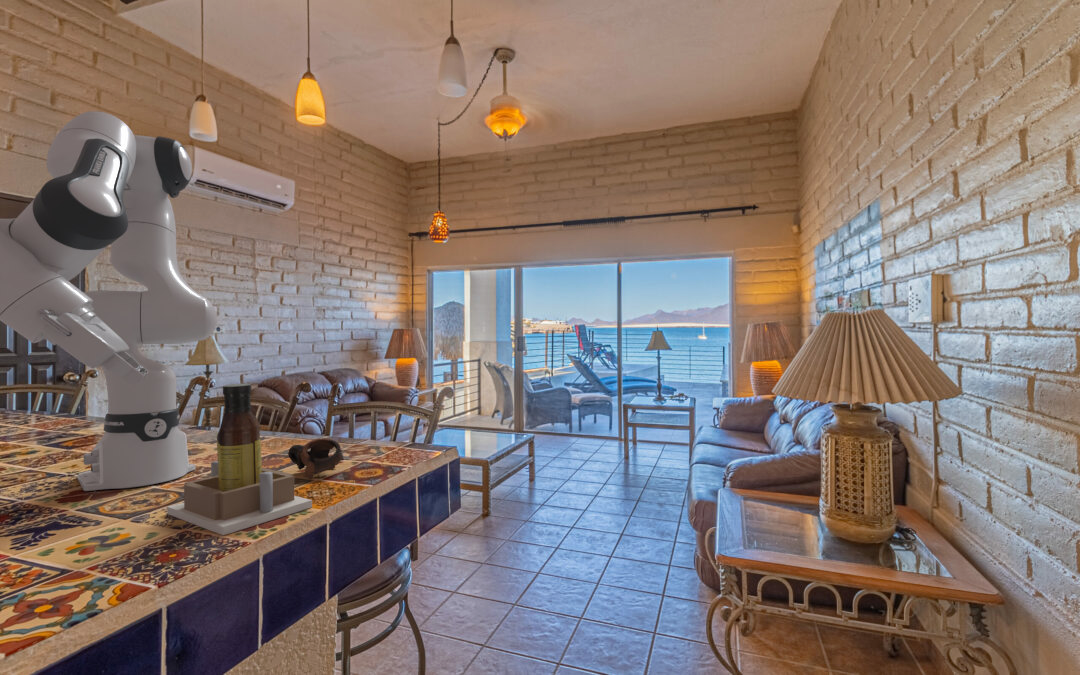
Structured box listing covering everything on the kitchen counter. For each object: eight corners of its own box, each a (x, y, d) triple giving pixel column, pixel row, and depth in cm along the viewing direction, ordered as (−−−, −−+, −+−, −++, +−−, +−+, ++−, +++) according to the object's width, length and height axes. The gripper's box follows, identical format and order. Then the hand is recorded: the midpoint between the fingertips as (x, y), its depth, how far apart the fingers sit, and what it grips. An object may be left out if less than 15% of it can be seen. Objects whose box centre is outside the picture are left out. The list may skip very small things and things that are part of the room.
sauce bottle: (244, 495, 86) (243, 382, 87) (271, 499, 84) (270, 382, 84) (208, 507, 80) (207, 385, 80) (236, 511, 78) (235, 386, 78)
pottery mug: (349, 467, 112) (351, 439, 108) (330, 498, 103) (331, 468, 100) (297, 455, 111) (297, 426, 108) (273, 484, 103) (273, 454, 99)
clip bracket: (167, 513, 81) (167, 470, 81) (254, 491, 93) (253, 453, 93) (223, 535, 72) (222, 485, 72) (312, 507, 83) (311, 464, 84)
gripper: (58, 292, 63) (156, 366, 68) (86, 302, 79) (163, 360, 85) (8, 327, 60) (114, 401, 66) (47, 329, 77) (130, 388, 82)
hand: (142, 378), depth 75 cm, fingers open, 8 cm apart
